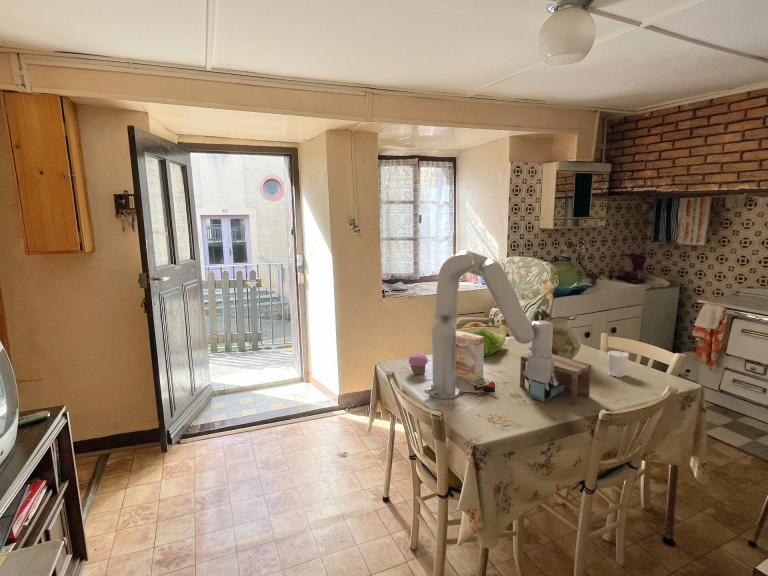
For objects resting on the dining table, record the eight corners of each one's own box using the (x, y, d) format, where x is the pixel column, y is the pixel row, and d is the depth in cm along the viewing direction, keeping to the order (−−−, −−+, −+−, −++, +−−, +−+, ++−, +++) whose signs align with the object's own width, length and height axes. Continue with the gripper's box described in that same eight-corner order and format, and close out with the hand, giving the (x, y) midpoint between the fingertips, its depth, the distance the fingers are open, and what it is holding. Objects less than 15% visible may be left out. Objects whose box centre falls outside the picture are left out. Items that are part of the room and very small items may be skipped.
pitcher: (577, 372, 193) (580, 319, 189) (524, 364, 205) (526, 314, 201) (581, 358, 212) (584, 310, 208) (533, 351, 224) (535, 306, 220)
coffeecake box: (448, 373, 196) (448, 332, 193) (457, 369, 201) (457, 329, 198) (474, 381, 185) (475, 339, 182) (483, 377, 190) (484, 336, 187)
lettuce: (490, 345, 239) (513, 354, 228) (464, 352, 223) (487, 361, 212) (494, 321, 236) (517, 328, 225) (467, 326, 220) (491, 334, 209)
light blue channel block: (543, 401, 163) (544, 384, 162) (529, 396, 168) (530, 380, 167) (564, 390, 173) (565, 374, 172) (550, 386, 178) (551, 370, 176)
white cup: (621, 379, 184) (623, 357, 182) (603, 374, 190) (604, 353, 188) (629, 374, 189) (630, 353, 187) (610, 370, 195) (612, 349, 193)
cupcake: (430, 371, 198) (430, 351, 196) (423, 378, 190) (423, 357, 189) (413, 369, 202) (413, 349, 200) (405, 375, 194) (405, 354, 193)
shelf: (574, 405, 160) (576, 372, 158) (519, 386, 179) (520, 356, 176) (589, 396, 168) (591, 364, 165) (535, 379, 186) (536, 350, 184)
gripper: (516, 349, 168) (515, 391, 171) (557, 360, 155) (554, 405, 158) (527, 345, 172) (525, 386, 175) (567, 355, 159) (565, 399, 162)
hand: (539, 395), depth 167 cm, fingers closed on light blue channel block, 6 cm apart
